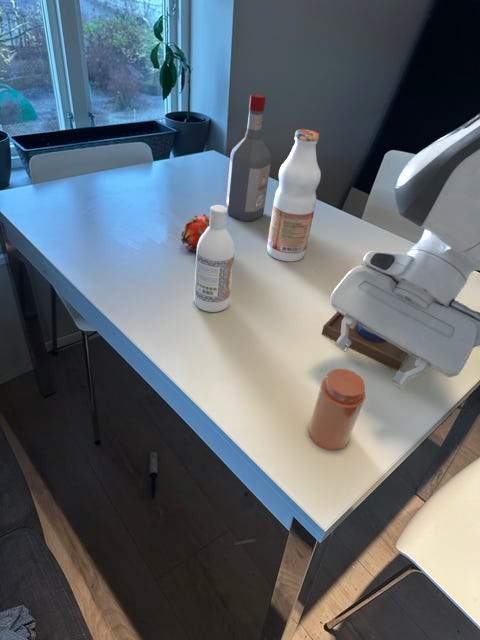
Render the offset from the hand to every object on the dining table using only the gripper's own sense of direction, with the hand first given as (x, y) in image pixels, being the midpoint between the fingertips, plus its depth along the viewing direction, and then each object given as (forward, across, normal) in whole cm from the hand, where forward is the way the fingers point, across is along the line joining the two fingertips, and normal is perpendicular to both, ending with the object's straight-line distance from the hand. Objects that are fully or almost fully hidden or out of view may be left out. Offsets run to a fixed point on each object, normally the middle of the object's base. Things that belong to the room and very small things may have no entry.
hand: (367, 366), depth 63 cm
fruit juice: (-15, +40, -30) cm, 52 cm away
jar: (+11, 0, -4) cm, 12 cm away
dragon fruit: (-4, +54, -18) cm, 57 cm away
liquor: (-20, +62, -35) cm, 73 cm away
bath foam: (+6, +35, -9) cm, 37 cm away
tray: (-7, +9, -22) cm, 25 cm away
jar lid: (-9, +9, -20) cm, 24 cm away
